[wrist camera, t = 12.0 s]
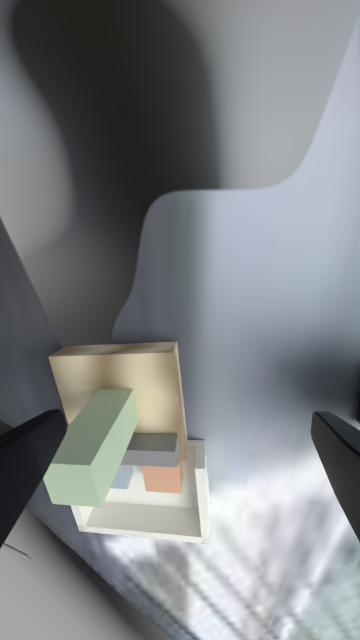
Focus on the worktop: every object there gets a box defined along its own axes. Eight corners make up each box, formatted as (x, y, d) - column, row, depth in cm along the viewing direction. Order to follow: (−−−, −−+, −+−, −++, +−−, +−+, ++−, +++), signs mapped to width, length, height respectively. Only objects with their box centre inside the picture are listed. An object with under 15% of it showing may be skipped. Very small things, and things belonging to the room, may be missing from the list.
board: (177, 341, 20) (173, 352, 18) (187, 439, 23) (185, 460, 21) (65, 346, 22) (48, 356, 19) (89, 437, 25) (77, 455, 23)
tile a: (180, 448, 23) (178, 465, 21) (183, 475, 24) (181, 493, 22) (146, 446, 24) (140, 463, 22) (150, 473, 25) (145, 491, 23)
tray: (205, 440, 23) (205, 468, 20) (210, 509, 26) (211, 544, 23) (74, 436, 25) (56, 461, 22) (93, 500, 28) (79, 531, 25)
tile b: (128, 445, 24) (121, 461, 22) (133, 471, 25) (127, 489, 23) (96, 444, 24) (87, 460, 23) (102, 470, 26) (94, 487, 24)
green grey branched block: (172, 388, 19) (151, 468, 12) (179, 448, 21) (165, 548, 13) (63, 389, 20) (-15, 460, 13) (79, 444, 22) (18, 532, 15)
